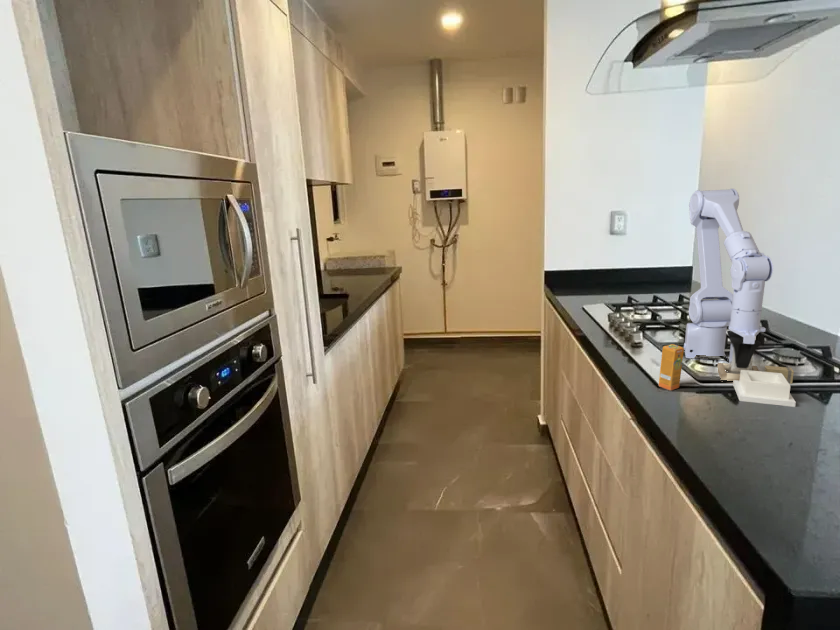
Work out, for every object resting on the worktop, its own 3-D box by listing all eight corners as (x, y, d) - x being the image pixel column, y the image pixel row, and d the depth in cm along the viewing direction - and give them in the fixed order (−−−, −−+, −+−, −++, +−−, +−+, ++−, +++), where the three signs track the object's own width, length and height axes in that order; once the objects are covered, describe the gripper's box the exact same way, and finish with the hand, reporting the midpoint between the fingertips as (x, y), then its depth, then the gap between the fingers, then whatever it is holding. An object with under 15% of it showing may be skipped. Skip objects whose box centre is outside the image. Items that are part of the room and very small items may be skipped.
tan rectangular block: (765, 381, 111) (767, 369, 110) (763, 377, 113) (764, 365, 113) (792, 383, 109) (793, 371, 108) (789, 380, 111) (791, 367, 110)
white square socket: (739, 401, 102) (741, 383, 101) (732, 384, 111) (734, 367, 110) (795, 407, 98) (797, 388, 97) (783, 389, 107) (786, 372, 106)
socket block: (721, 381, 113) (721, 373, 112) (717, 370, 120) (717, 362, 119) (762, 385, 109) (763, 377, 109) (755, 373, 116) (756, 365, 116)
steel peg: (729, 379, 114) (733, 347, 112) (727, 374, 117) (730, 342, 115) (750, 381, 112) (753, 349, 110) (747, 375, 115) (750, 344, 113)
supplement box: (671, 391, 109) (674, 349, 107) (658, 386, 112) (661, 345, 110) (681, 388, 110) (684, 346, 108) (667, 383, 113) (670, 343, 111)
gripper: (774, 317, 102) (766, 376, 106) (761, 302, 115) (754, 356, 118) (735, 315, 105) (729, 373, 109) (726, 301, 118) (721, 353, 121)
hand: (740, 364), depth 114 cm, fingers closed on steel peg, 4 cm apart
